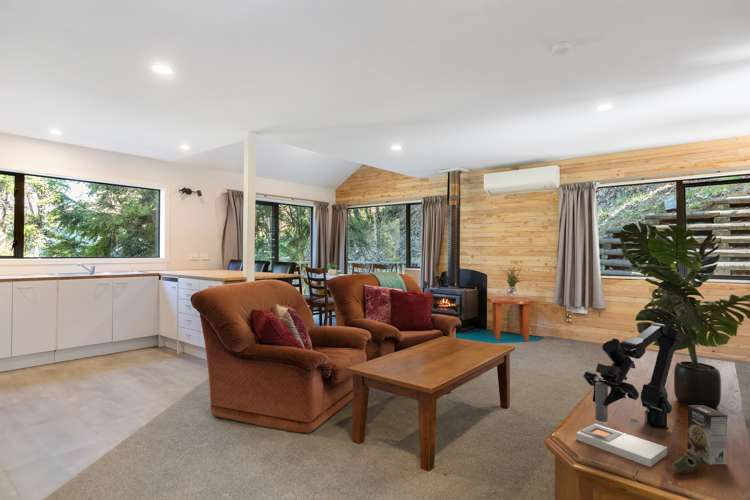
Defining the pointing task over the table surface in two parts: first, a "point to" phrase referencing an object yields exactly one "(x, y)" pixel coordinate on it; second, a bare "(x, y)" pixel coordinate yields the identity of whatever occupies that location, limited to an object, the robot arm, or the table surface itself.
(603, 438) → the panel
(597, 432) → the button
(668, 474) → the table surface
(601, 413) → the grey cylinder
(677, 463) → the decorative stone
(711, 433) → the coffee box
